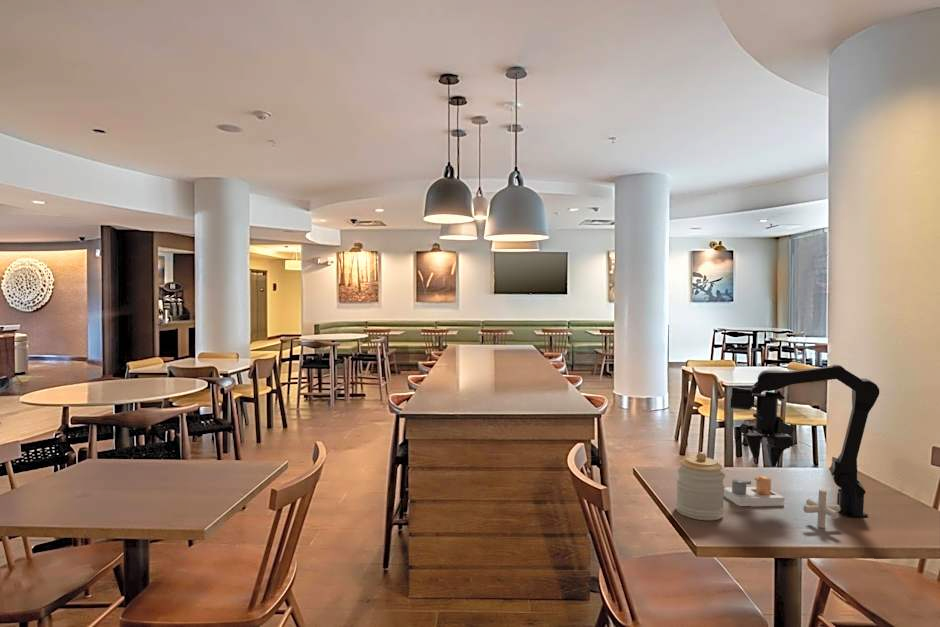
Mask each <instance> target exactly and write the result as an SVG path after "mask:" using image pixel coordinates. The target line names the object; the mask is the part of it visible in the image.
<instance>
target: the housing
mask: <svg viewBox="0 0 940 627" xmlns="http://www.w3.org/2000/svg"><path fill="white" fill-rule="evenodd" d="M747 485H752V481H751V480H743V479H739V478H737V479H735V478H734V479H732V480H731V487H728V486H727V487H725V489H724V498H725V499H727V500H728V501H730V502H732V503H734V504H735V505H737V506H738V505H739V506H738V507H740V506H751V507H783V506H784V505H785V497H784V496H782V495H780V494H778V493H777V492H775V491H773V490H771V494H770V495H759V494H757V493H756V486H747Z"/></svg>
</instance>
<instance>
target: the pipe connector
mask: <svg viewBox="0 0 940 627" xmlns="http://www.w3.org/2000/svg"><path fill="white" fill-rule="evenodd" d="M827 492H828V491H827V490H825V489H818V502H817V501H815V500H813V499H811V498H808V499H806V500H805V501H806V502H805V504H806V505H804V506H803V508H802V510H803V512H804V513H806V514H813V513H817V524H816V525H817V526H816V527H818V528H821V529H825V528H826V515H827V516H829V517H831V518H834V519H838V518H839V517H840V513H839V511H840V510H841V509H840V506H839V505H837V504H827Z"/></svg>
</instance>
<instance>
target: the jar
mask: <svg viewBox="0 0 940 627" xmlns="http://www.w3.org/2000/svg"><path fill="white" fill-rule="evenodd" d="M679 463H680V466H679V467H678V468H676V471H677V473H678V478H677V479H676V500H675V507H676V508H675V509H676V511H677V513H678V514H680V515H682V516H684V517H686V518H690V519H694V520H700V521H717V520H720V519H722V518H723V515H724V512H725V507H724V498H725V497H724V489H725V485H724V479H725V478H726V473H724V472H723V471H722V469H723V465H721V463H719V462H718V461H717V460H715V459H713V458H710V457H707V455H706V453H704V452H702V451H699V452H697V453H696V456H694V455H693V456H687V457H686V458H684V459H681V460H680V461H679Z"/></svg>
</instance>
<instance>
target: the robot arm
mask: <svg viewBox="0 0 940 627" xmlns="http://www.w3.org/2000/svg"><path fill="white" fill-rule="evenodd" d="M830 380H837V381H839V382H841V383H842V384H844V385H845V386H846V387H848V388H849V389H851V411H850V416H849V419H848V424H847V428H846V433H845V436H844V440H843V444H842V448H841V452H840V454H839V456H838V457H835V456H832V458H831V465H830V467H829V468H828V469H829V472H830V476H831V477H832V480H833V482H834V483H835V485H836V486H837V487H838V489H837V496H836V497H837V498H836V499H837V500H836V505H839V506H840V509H841V510H840V511H839V512H838V513H839V514H842V515H844V516H845V517H847V518H860V517H861V518H863V517H865V518H866V517H867V518H868V517H869V514H868V513H866V512H864V504H865V494H866V490H865V488H864V486H863V485H862V483H861V482H860V481H859V480H858V461H857V460H858V456H859V452H860V447H861V445H862V444H861V443H862V440H863V436H864V432H865V428H866V424H867V420H868V416H869V414H870V411H871V410H872V408H873V407H874V405H875V404H876V402H877V400H878V397H879V395H880V388H879V387H878V384H876V383H875V382H873V381H872V380H870V379H868V378H863V377H862V378H860V377H859V376H856V375H855V374H853V373H852V372H850V371H849V370H847V369H845V368H844V367H843V366H841V365H840V364H833V365H828V366H822V367H812V368H805V369H798V370H797V369H796V370H774V369H773V370H769V369H765V370H763V371H761V372H760V373H759V374H758V376H757V381H755V383H754V384H753V385H751V387H750V388H746V387H745V388H743V387H738V386H732V388H731V396H730V410H731V409H733V410H741V411H742V410H743V411H745V410H746V411H751V409H753V408H755V399H756V412H755V413H753V414H752V417H753V418H755V423H753V422H751V423H742V424H741V425H740V426H739V432H740V433H742V434H741V436H743V438H744V439H745V443H747V444H746V445H747V446H748V448H749V451H750V453H751V455H752V457H753V459H758V456H759V452H760V444H761V441H762V440H763V438H764V439H766V441H767V444H766V448H767V452H768V458H769V461H770V465H771V467H772V468H776V467H777V465H778V462H779V460H780V457H781V456H782V454H783V452H784V451H785V450H786V449H790V448H793V447H794V442H795V440H794V439H793V434H794V433H795V431H796V430H795V429H796V427H794V426H793V425H790V424H788V423H785V422H784V420H783V419H782V418H781V416H779V415H778V401H779V400H785V398H786V397H785V395H784V394H783V393H782V392H781V390H780V389H783V388H786V387H789V386H791V385H796V384H797V385H798V384H806V383H807V384H808V383H812V382H813V383H814V382H820V381H821V382H822V381H830ZM773 391H775V392H773ZM764 392H765V393H764ZM755 397H756V398H755Z"/></svg>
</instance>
